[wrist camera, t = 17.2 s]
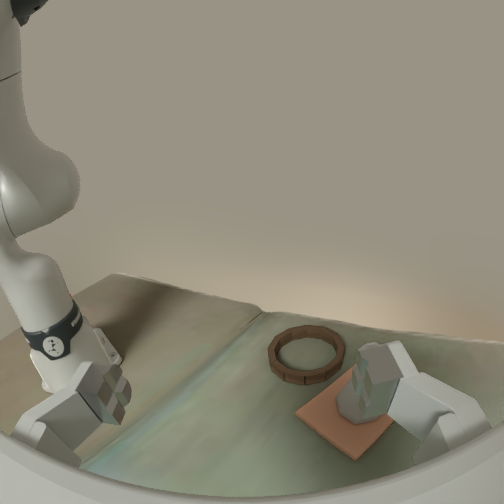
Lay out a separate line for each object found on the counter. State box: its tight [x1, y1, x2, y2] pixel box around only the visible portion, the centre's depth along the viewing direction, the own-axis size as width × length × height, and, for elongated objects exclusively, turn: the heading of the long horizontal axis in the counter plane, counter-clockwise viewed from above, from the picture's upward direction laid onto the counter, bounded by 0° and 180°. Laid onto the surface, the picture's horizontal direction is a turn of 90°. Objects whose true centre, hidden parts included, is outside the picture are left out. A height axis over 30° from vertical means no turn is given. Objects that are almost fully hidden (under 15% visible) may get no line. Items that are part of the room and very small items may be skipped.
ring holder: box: [268, 325, 345, 385], centre depth 42 cm, size 12×12×2 cm
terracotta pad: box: [295, 364, 394, 461], centre depth 31 cm, size 11×14×1 cm
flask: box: [335, 342, 382, 425], centre depth 29 cm, size 7×7×10 cm
